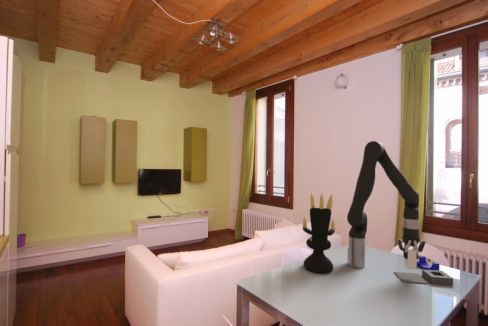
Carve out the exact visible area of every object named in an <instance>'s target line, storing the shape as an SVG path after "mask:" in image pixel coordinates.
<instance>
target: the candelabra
mask: <svg viewBox="0 0 488 326" xmlns="http://www.w3.org/2000/svg"><path fill="white" fill-rule="evenodd" d="M309 198H310V199H309V200H310V207H311V208H309V219H310V228H311V229H310V228H308V224H307V223H308V222H307V220H306V217H305V216H303V221H302V230H303V232H304V233H306V234H307V235H310V237H309V238H308V239H307V240H306V242H305V245H306V246H307V247H308V248H309V249H311V250H313V251H312V253H311V254H310V255H308V256H307V257H306V258H305V259H304V261H303V264H302V265H303V267H304V268H305V269H306V270H308V271H310V272H313V273H318V274H319V273H320V274H326V273H330V272H332V271H333V270H334V264H333V262H332V261H331V259H330V258H329V257H327V256H326V255H325V252H324V251H327V250H330V249H331V247H332V242H331V241H330V240H329V239H328V236H329V237H330V236H332V235H334V234H335V232H336V230H335V229H336V224H335V220H334V219H331V218H332V207H333V193H331V194H330V196H329V198H328V200H327V202H326V208H325V203H324V197H323V193H321V194H320V198H319V202H318V203H319V207H315V199H314V196H313V193H312V192H310V197H309Z"/></svg>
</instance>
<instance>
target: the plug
mask: <svg viewBox="0 0 488 326" xmlns="http://www.w3.org/2000/svg"><path fill="white" fill-rule="evenodd" d="M416 255H417V251H416V250H415V249H414V248H413V247H409V248H408V251H407V259H405V258H404V267H405V268H406V269H408V270H417V260H416Z"/></svg>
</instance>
